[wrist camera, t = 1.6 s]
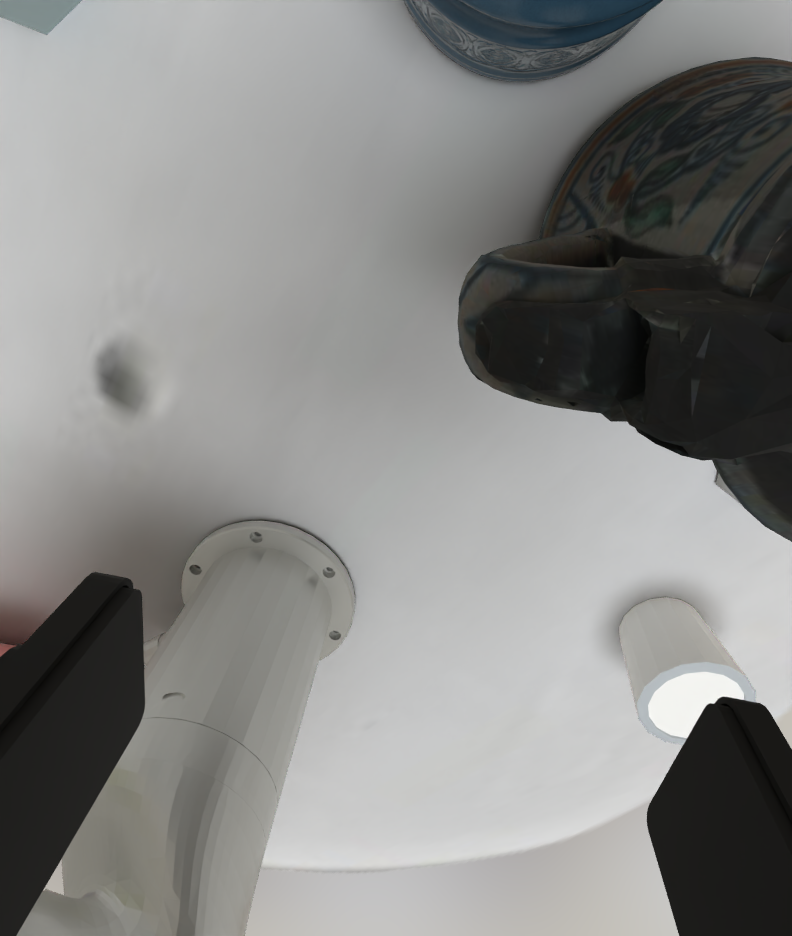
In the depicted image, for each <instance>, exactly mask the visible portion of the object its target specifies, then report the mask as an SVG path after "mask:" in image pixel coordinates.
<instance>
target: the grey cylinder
mask: <svg viewBox="0 0 792 936" xmlns="http://www.w3.org/2000/svg"><path fill="white" fill-rule="evenodd" d="M619 636H620V643H621V647H622V651H623V655H624V660H625V664H626V668H627V673H628V677H629V681H630V685H631V690H632V694H633V698H634V703H635V707H636V711H637V715H638V719H639V721H640V722H641V723H642V725H643V726H644V727H645V729H646V730H647V731H648V733H650V734H652V735H654V736H656V737H657V738H659V739H661V740H663V741H664V742H669V743H674V744H680V745H684V743H685V741H686V739H687V738H688V736H689V734H690V732H691V731H692V729H693V727H694V725H695V724H696V722H697V720H698V718H699V717H700V715H701V713H702V711H703V710H704V708H705V707H706V705H708V704H710V703H713V704H714V703H715V702H716V701H717V700H718V699H719V698H721V697H731V698H736V699H741V700H746V701H751V702H756V691H755V689H754V688H753V686H752V685H751V683H750V681H749V680H748V678H747V677H746V675H745V674H744V673H743V671H742V670H741V669H740V667H739V666H738V665H737V663H736V662H735V661H734V659H733V658H732V657H731V656H730V654H729V653H728V652H727V650H726V649H725V648H724V646H723V645H722V644H721V642H720V641H719V640H718V638H717V637H716V636H715V635H714V633H713V632H712V631H711V629H710V628H709V627H708V625H707V624H706V623H705V621H704V620H703V619H702V617H701V616H700V615H699V614H698V612H697V611H696V610H695V608H694V607H692V606H691V605H689V604H687V603H686V602H684V601H683V600H679V599H674V598H668V597H662V598H654V599H648V600H646V601H644V602H642V603H640V604H638V605H635V606H634V607H633V608H632V609H631V610H630V611H629V612H628V613H626V614H625V615H624V617H623V619H622V621H621V624H620V626H619Z"/></svg>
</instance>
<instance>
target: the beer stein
mask: <svg viewBox="0 0 792 936" xmlns="http://www.w3.org/2000/svg"><path fill="white" fill-rule="evenodd" d="M458 330H459V345H460V348H461V350H462V353H463V356H464V359H465V361H466V363H467V365H468V367H469V369H470V370H471V372H472V373H473V374H474V375H475V377H476V378H477V379H479V380H481V381H482V382H484V383H486V384H488V385H489V386H491V387H492V388H494V389H496V390H499V391H501V392H504V393H506V394H509V395H511V396H514V397H517V398H521V399H524V400H528V401H531V402H534V403H538V404H543V405H548V406H553V407H559V408H566V409H573V410H580V411H587V412H596V413H601V414H603V415H604V416H605V417H606V418H607V419H609V420H610V421H628V423H629V425H631V426H633V427H635V428H636V430H637V431H638V432H639V433H640V434H642V435H643V436H645V437H646V438H648V439H649V440H651V441H652V442H654V443H655V444H658V445H660V446H662V447H664V448H667V449H669V450H671V451H673V452H675V453H678V454H680V455H682V456H686V457H691V458H695V459H699V460H712V461H713V463H714V465H715V468H716V469H717V471H718V473H719V474H720V476H721V478H722V480H723V481H724V483H725V484H726V486H727V487H728V488H729V489H730V491H731V492H732V493H733V494H734V496H735V497H736V498H737V499H738V501H739V502H740V503H741V504H742V506H743V507H744V508H745V509H746V510H747V511H748V512H750V513H751V514H752V515H753V516H754V517H755V518H756V519H757V520H758V521H760V522H761V523H762V524H763V525H764V526H765V527H767V528H769V529H770V530H772V531H774V532H776V533H777V534H779V535H781V536H783V537H784V538H786V539H788V540H790V541H791V542H792V62H788V61H783V60H777V59H772V58H760V57H751V58H742V59H735V60H725V61H718V62H715V63H711V64H707V65H703V66H700V67H696V68H693V69H690V70H688V71H685V72H683V73H680V74H678V75H675V76H673V77H670V78H668V79H666V80H664V81H662V82H660V83H659V84H657V85H655V86H653V87H651V88H650V89H648V90H646V91H644V92H643V93H641V94H639V95H638V96H636V97H635V98H633V99H632V100H631V101H629V102H628V103H627V104H625V105H624V106H623V107H621V108H620V109H619V110H618V111H616V112H615V113H614V114H613V115H612V116H611V117H610V118H608V119H607V120H606V121H605V122H604V123H603V124H602V125H601V126H600V127H599V128H598V129H597V130H596V132H595V133H594V134H593V135H592V136H591V137H590V139H589V140H588V141H587V142H586V143H585V145H584V146H583V147H582V148H581V150H580V151H579V152H578V154H577V155H576V156H575V158H574V159H573V161H572V162H571V164H570V166H569V167H568V169H567V170H566V172H565V174H564V175H563V177H562V179H561V181H560V183H559V184H558V186H557V188H556V190H555V193H554V195H553V198H552V200H551V202H550V205H549V207H548V210H547V212H546V215H545V219H544V222H543V225H542V228H541V232H540V237H539V240H535V241H531V242H527V243H522V244H516V245H511V246H507V247H504V248H501V249H498V250H495V251H492V252H490V253H488V254H486V255H481V257H480V258H479V259H478V261H477V262H476V263H475V264H474V266H473V267H472V268H471V269H470V271H469V272H468V274H467V275H466V277H465V280H464V283H463V285H462V289H461V293H460V297H459V313H458Z"/></svg>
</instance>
